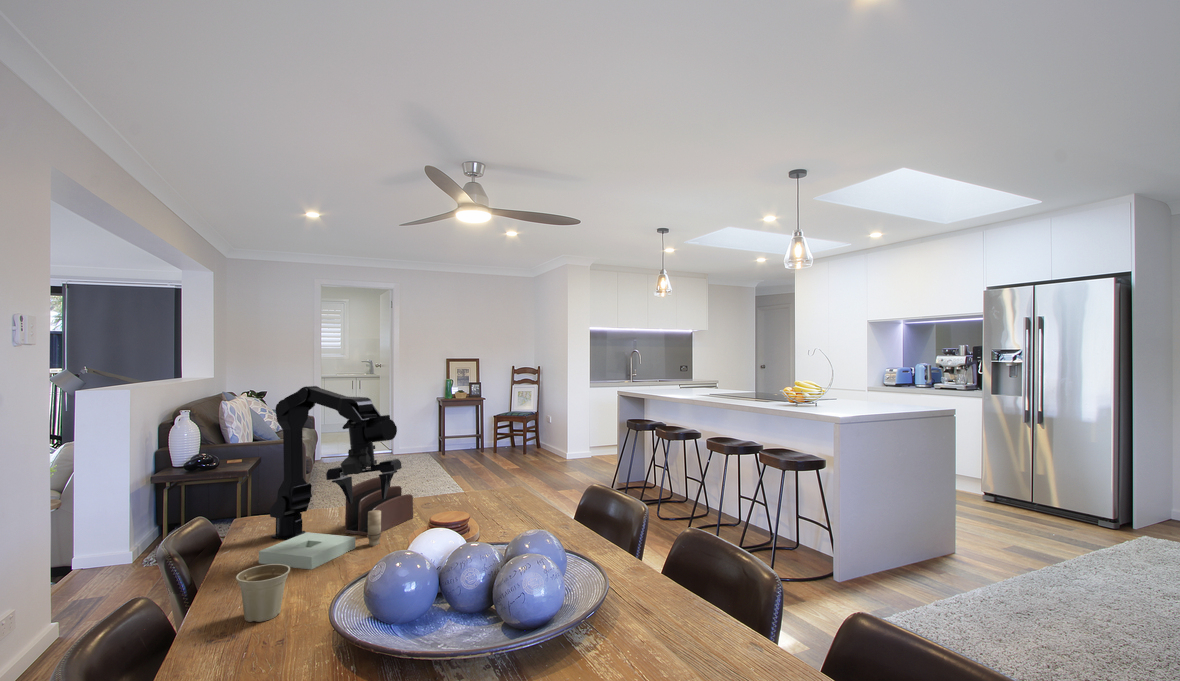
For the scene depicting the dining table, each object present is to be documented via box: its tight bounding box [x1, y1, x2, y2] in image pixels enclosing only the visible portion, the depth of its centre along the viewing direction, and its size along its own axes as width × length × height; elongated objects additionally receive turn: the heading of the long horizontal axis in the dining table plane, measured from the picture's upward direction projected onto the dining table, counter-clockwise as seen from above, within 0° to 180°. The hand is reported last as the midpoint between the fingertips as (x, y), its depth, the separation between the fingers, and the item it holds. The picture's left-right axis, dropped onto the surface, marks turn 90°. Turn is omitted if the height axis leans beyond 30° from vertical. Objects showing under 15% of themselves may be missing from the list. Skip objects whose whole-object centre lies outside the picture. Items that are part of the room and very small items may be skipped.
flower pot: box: [235, 564, 291, 623], centre depth 113 cm, size 9×9×9 cm
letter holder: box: [344, 476, 414, 537], centre depth 174 cm, size 10×20×14 cm, turn 162°
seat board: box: [258, 531, 356, 570], centre depth 147 cm, size 16×16×3 cm
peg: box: [367, 510, 382, 547], centre depth 156 cm, size 4×4×9 cm
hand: (367, 501), depth 152 cm, fingers open, 9 cm apart
